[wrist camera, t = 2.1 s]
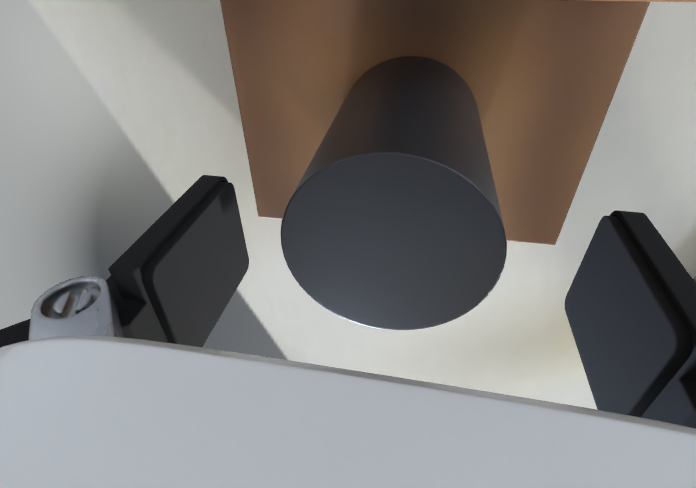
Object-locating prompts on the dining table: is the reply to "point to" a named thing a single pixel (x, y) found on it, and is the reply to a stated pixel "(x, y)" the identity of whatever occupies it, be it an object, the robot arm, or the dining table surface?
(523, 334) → the dining table surface
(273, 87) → the step shelf
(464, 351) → the dining table surface
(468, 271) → the canister
